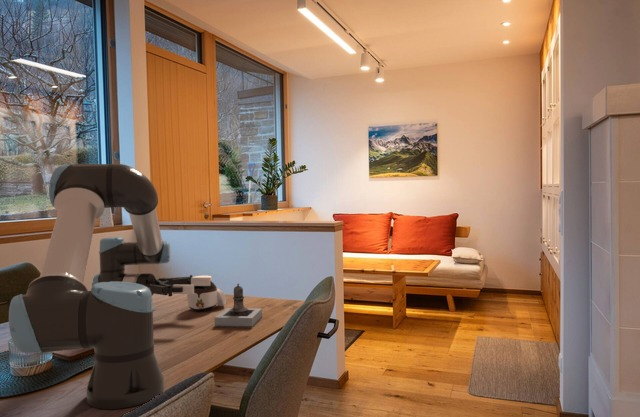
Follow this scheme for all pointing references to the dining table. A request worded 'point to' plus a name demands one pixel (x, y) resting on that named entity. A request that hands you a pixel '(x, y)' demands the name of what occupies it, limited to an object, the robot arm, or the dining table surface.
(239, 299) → the salt shaker
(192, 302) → the spread jar
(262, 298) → the dining table surface
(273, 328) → the dining table surface
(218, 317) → the socket block
